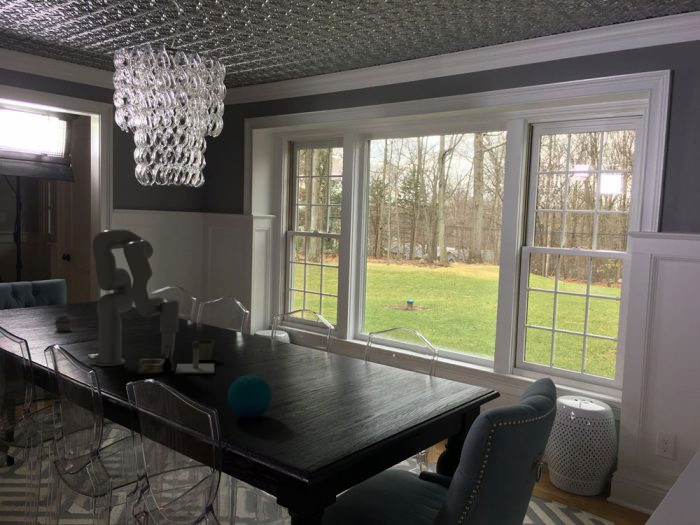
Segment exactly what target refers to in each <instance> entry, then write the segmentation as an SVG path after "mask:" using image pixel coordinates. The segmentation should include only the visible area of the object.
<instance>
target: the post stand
mask: <svg viewBox="0 0 700 525" xmlns="http://www.w3.org/2000/svg"><path fill="white" fill-rule="evenodd" d="M191 348H192V350H193V351H192V363H177V365H176V370H175V374H176V373H214V374H215V363H199V362H200V361H199V348H200V343H199V342H198V340H195V341H193V342H192V344H191Z"/></svg>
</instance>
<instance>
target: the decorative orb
mask: <svg viewBox="0 0 700 525" xmlns="http://www.w3.org/2000/svg"><path fill="white" fill-rule="evenodd" d="M271 401H272V392H271V388H270V386H269V384H268V383H267V381H266V380H265V379H264V378H262V377H260V376H259V375H255V374H245V375H242V376H240V377H238V378H236V379H235V380H234V381H233V382H232V384H231V385H230V387H229V389H228V392H227V402H228V403H227V404H228V406H229V408H230V410H231V412H233V413H234V414H235V415H236V416H238V417H239V418H241V417H242V419H245V418H252V419H255V417H256V418H258V417H260V416H262V415H263V414H264V413H265V412H266V411H267V409H268V408H270V404H271Z"/></svg>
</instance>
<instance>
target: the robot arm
mask: <svg viewBox="0 0 700 525" xmlns="http://www.w3.org/2000/svg"><path fill="white" fill-rule="evenodd" d="M91 247H92V253H93V257H94V264H95V265H94V266H95V272H96V281H97V284H98V285H97V286H98V287H99V289H101V290H102V291H106V292H107V291H113V292H112V293H111V292H110V293H106V294H104V295H102V296H101V297H99V298H98V300H97V303H96V310H97V314H98V353H96V354H88V356H87V360H91V361H92V360H94V365H95V366H97V365H98V366H97V367H101V366H114V367H118V366H117V365H120V366H122V365H121V364H123V365H125V363H126V359H124V358H122V339H123V336H122V334H123V332H122V331H123V323H122V318H121V317H120V314H121V313H122V314H123V313H126V312H128V311H130V310H131V309H132V307H133V306H134V307H135V308H136V310H137V313H138V314H139V315H140V316H142V317H143V318H148V317H149V318H150V317H154V316H157V315H160V323H159V332H160V333H162V336H161V350H160V352H161V353H160V356H164V358H163V359H164V370H165V371H166V370H167V371H168V370H169V371H170V370H171V367H172V362H171V361H173V356H174V351H175V341H176V333H178V332H179V317H180V316H179V314H180V302H179V301H178V300H177V299H167V298H163V297H159V296H156V297H150V296H149V294H148V288H147V287H148V282H149V280H150V279H151V278H152V277H153V273H154V272H153V269H152V267H151V265H150V264H151V263H150V262H149V259H150V258H151V257H152V256H153V254H154V248H153V245H152V244H151V243H150V242H149V241H147V239H145V238H144V237H141V236H139V235H137V234H136V233H134V232H133V231H130V230H129V229H106V230H102V231H100V232H99V233H98V234H97V233H96V235H95V236H94V238H93V240H92V246H91ZM118 249H123V255H124V257H125V258H124V259H125V260H126V263H127V265H128V268H129V270H130V273H129V272H128V271H127V270H126V269H124V268H122V267H117V261H116V260H117V259H116V256H115V254H114V253H113V251H112V250H118ZM130 274H131V275H130ZM131 276H132V279H131Z"/></svg>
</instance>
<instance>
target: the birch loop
mask: <svg viewBox="0 0 700 525" xmlns="http://www.w3.org/2000/svg"><path fill="white" fill-rule="evenodd" d="M171 362H172V367H171V370H174V361H173V360H172V361H171ZM163 370H164V358H140V359H139V361H138V364H137V374H138V373H154V372H155V373H156V372H162V371H163Z"/></svg>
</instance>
